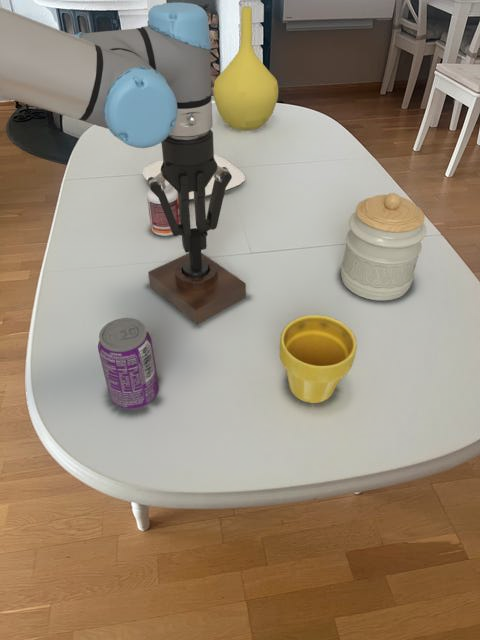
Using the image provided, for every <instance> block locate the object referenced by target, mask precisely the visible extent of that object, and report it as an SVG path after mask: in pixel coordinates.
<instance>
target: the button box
mask: <svg viewBox="0 0 480 640" xmlns="http://www.w3.org/2000/svg"><path fill="white" fill-rule="evenodd" d="M189 260H190V255H189V252H187V253H185V254H184V255H181V256H179V257H177V258H175V259H173V260H171V261H169V262H166V263H164V264H162V265H160V266H158V267H155V268H154V269H152V270H149V271H148V272H147V275H148V281H149V286H150V287H151V288H152V289H153V290H154V291H155V292H156V293H158V294H159V295H161V297H163V298H164V300H166V301H168V302H169V303H170V304H171V305H172V306H174V308H176V309H177V310H178V311H179V312H181V313H182V314H183V315H184V316H185V317H187V318H188V319H189V320H190V321H192V322H193V323H194V324H195V325H199V324H201V323H203V322H204V321H206V320H208V319H210V318H212V317H214V316H215V315H217V314H219V313H220V312H222V311H224V310H226V309H228V308H230V307H231V306H233V305H235V304H237V303H238V302H240V301H242V300H244V299H246V297H247V295H246V294H247V293H246V291H247V289H246V287H247V284H246V282H245V281H243V280H241V279H240V278H238V277H237V276H236V275H234V274H233V273H232V272H230V271H229V270H227V269H226V268H225V267H223V266H221V265H220V264H218V263H217V262H216V261H214V260H213V259H211V258H210V257H208V256H207V255H205V254H204V253H203V252H201V260H204V261H205V262H207V264H208V271H209V273H208V274H207V275H205V276H203V277H200V278H190V277H186V276H185V275H184V274H183V265H184V263H185V262H187V261H189Z"/></svg>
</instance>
